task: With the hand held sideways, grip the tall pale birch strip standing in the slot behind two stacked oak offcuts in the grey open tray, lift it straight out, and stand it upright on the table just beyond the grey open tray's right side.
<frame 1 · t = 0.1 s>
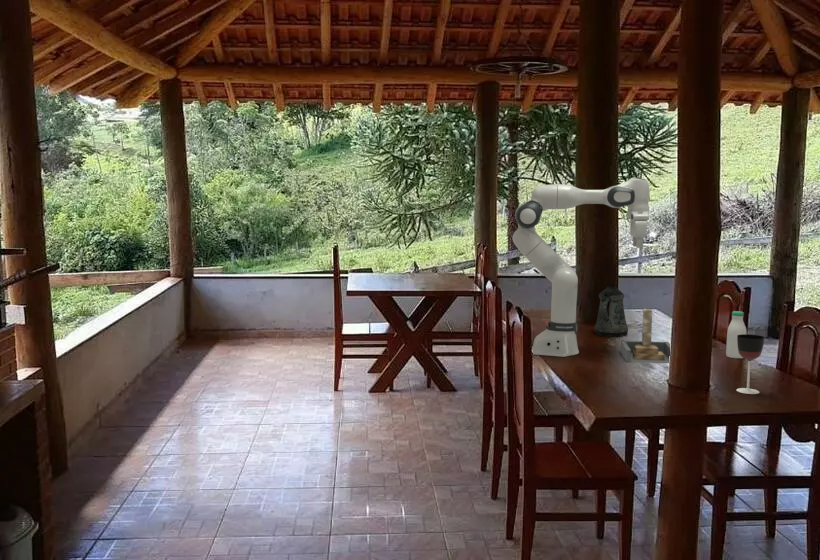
hand: (636, 247, 303), 48 cm above the table, tool pointing down, fingers open, 8 cm apart
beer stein: (611, 335, 352), on the table
milk bottle: (735, 357, 303), on the table
wineglass: (747, 391, 250), on the table
grey open tray: (647, 361, 296), on the table
lower offcut: (648, 358, 295), point 1 cm above the table, touching grey open tray, upper offcut
birch strip: (646, 355, 301), point 1 cm above the table, touching grey open tray
upper offcut: (646, 352, 295), point 4 cm above the table, touching lower offcut
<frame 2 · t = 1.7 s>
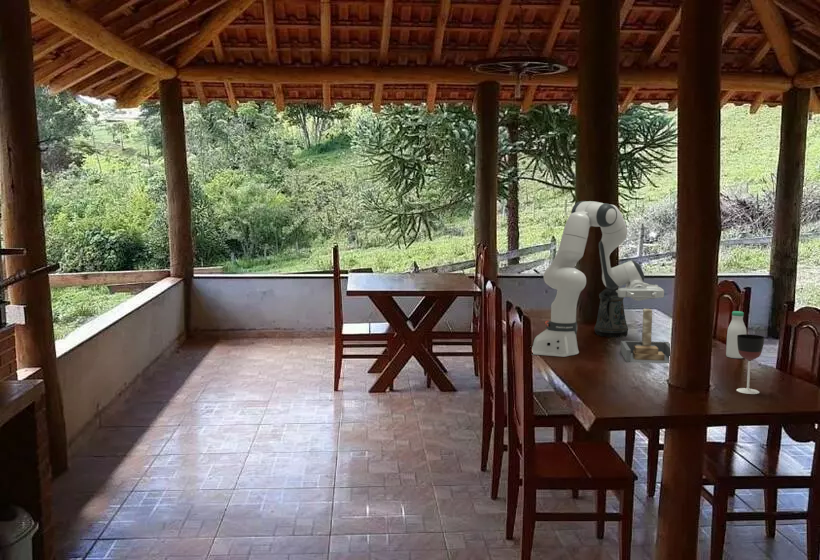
hand: (642, 295, 312), 26 cm above the table, tool horizontal, fingers open, 8 cm apart
nothing on the table moved.
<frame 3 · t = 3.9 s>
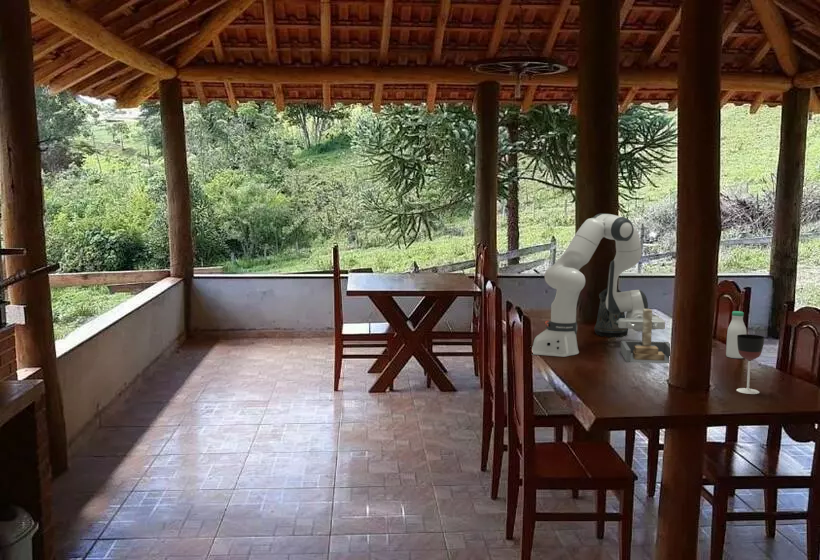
hand: (643, 326, 307), 12 cm above the table, tool horizontal, fingers open, 8 cm apart
nothing on the table moved.
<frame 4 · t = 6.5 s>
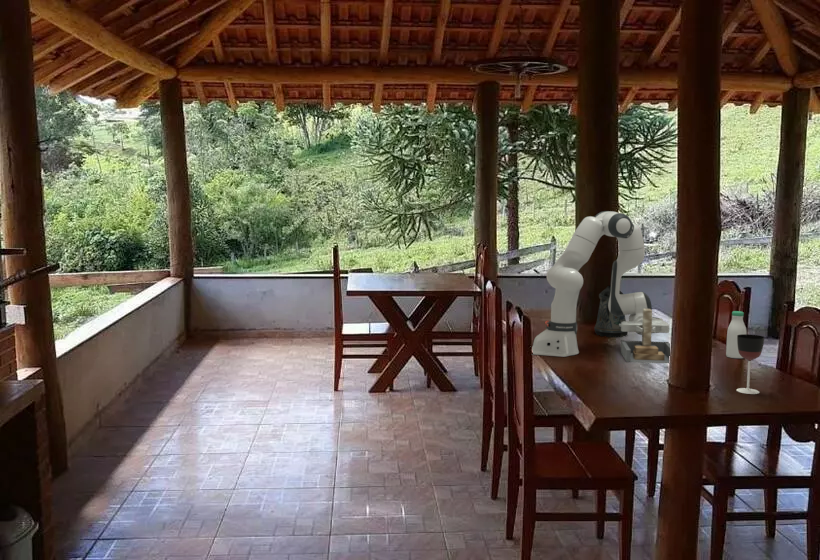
hand: (647, 330, 299), 13 cm above the table, tool horizontal, fingers closed on birch strip, 3 cm apart
birch strip: (646, 355, 301), point 2 cm above the table, touching gripper, grey open tray
everything else where it was.
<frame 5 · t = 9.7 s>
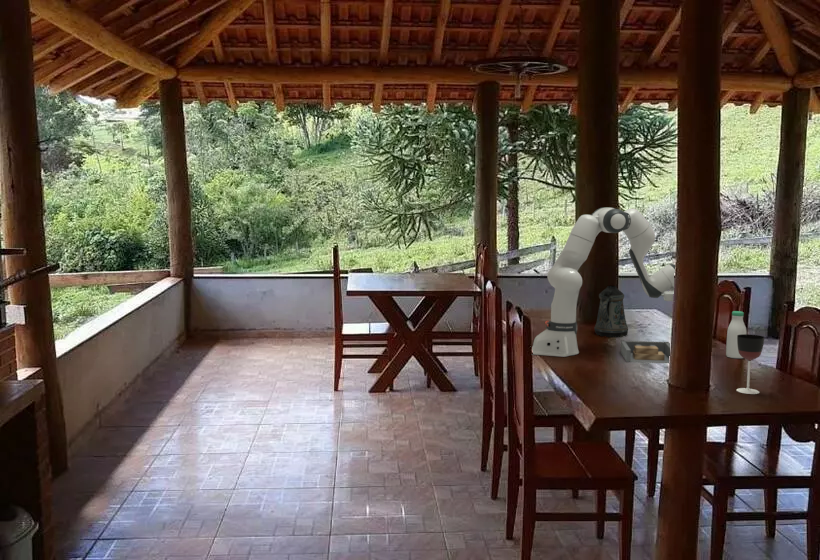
hand: (691, 299, 294), 27 cm above the table, tool horizontal, fingers closed on birch strip, 3 cm apart
birch strip: (690, 324, 296), point 16 cm above the table, touching gripper
everything else where it was.
when the fingers open (12 cm above the table, at t = 13.1 s): birch strip drops 1 cm, on the table.
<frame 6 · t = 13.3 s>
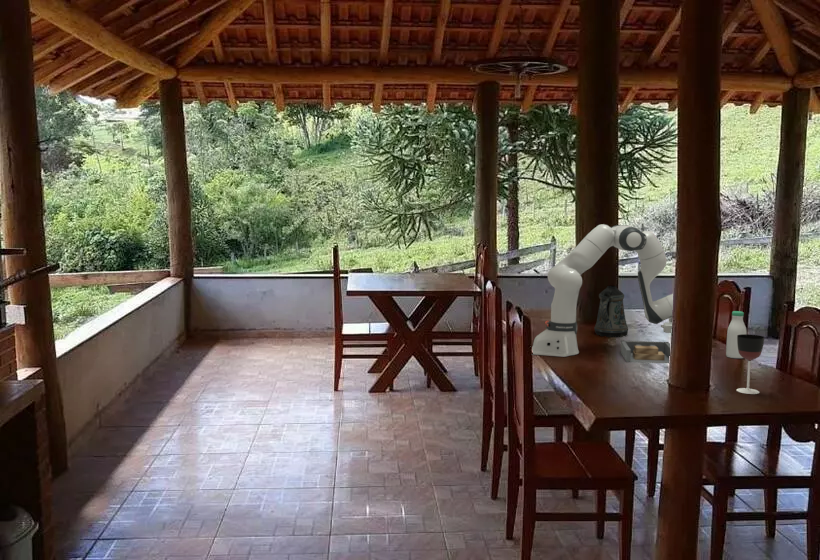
hand: (691, 331, 296), 12 cm above the table, tool horizontal, fingers open, 5 cm apart
birch strip: (689, 359, 298), on the table
everything else where it was.
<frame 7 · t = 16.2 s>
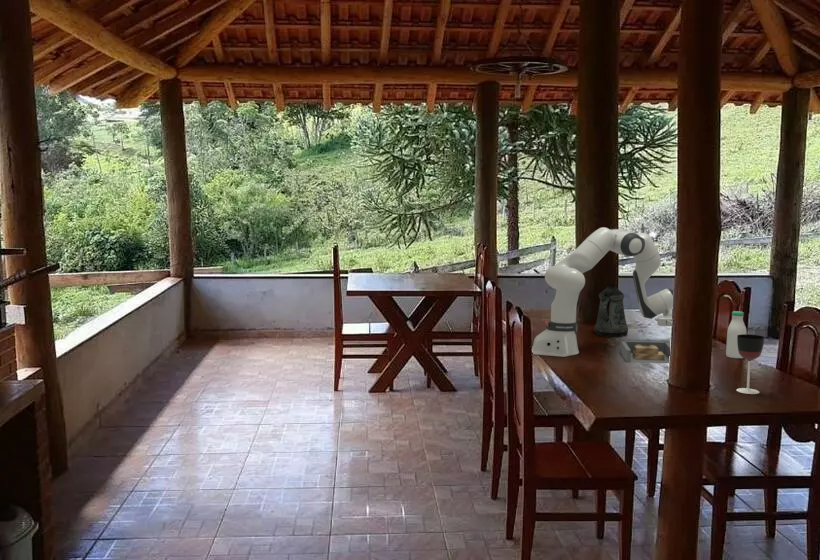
hand: (683, 324, 308), 13 cm above the table, tool horizontal, fingers open, 8 cm apart
nothing on the table moved.
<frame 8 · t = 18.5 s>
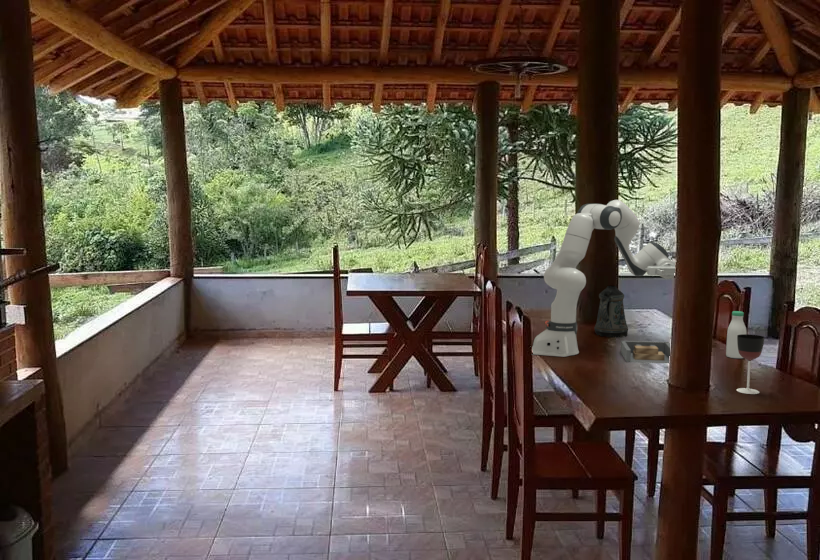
hand: (673, 272, 310), 36 cm above the table, tool horizontal, fingers open, 8 cm apart
nothing on the table moved.
at the end: birch strip inside the target area (0.1 cm from its centre), on the table; birch strip tilted 0°; birch strip touching table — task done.
